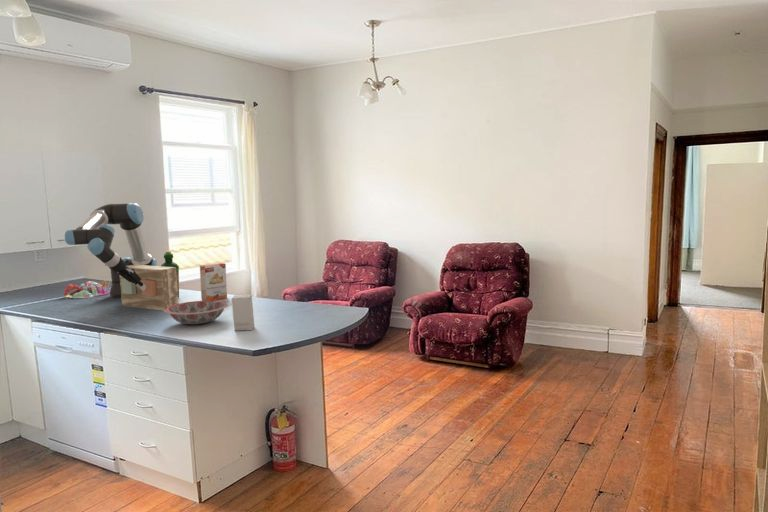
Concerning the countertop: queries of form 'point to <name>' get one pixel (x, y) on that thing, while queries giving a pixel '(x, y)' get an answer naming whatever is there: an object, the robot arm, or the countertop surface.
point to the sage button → (128, 287)
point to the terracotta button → (149, 288)
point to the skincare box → (243, 312)
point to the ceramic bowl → (196, 311)
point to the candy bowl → (87, 289)
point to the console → (164, 288)
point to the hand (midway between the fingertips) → (144, 288)
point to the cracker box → (213, 281)
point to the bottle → (171, 265)
